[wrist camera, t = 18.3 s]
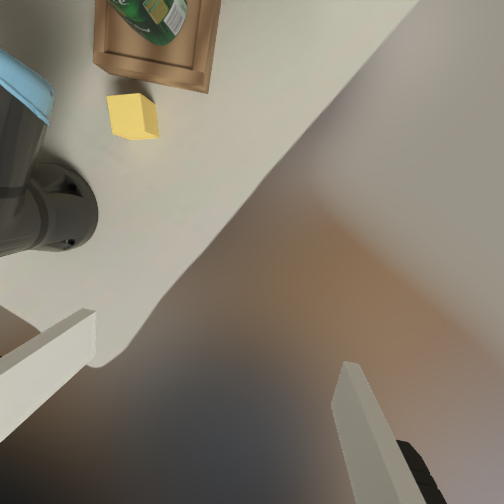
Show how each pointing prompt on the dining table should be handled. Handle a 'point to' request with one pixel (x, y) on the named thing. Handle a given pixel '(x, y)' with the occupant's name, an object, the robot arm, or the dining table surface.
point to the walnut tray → (159, 48)
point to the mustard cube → (133, 116)
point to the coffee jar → (153, 18)
